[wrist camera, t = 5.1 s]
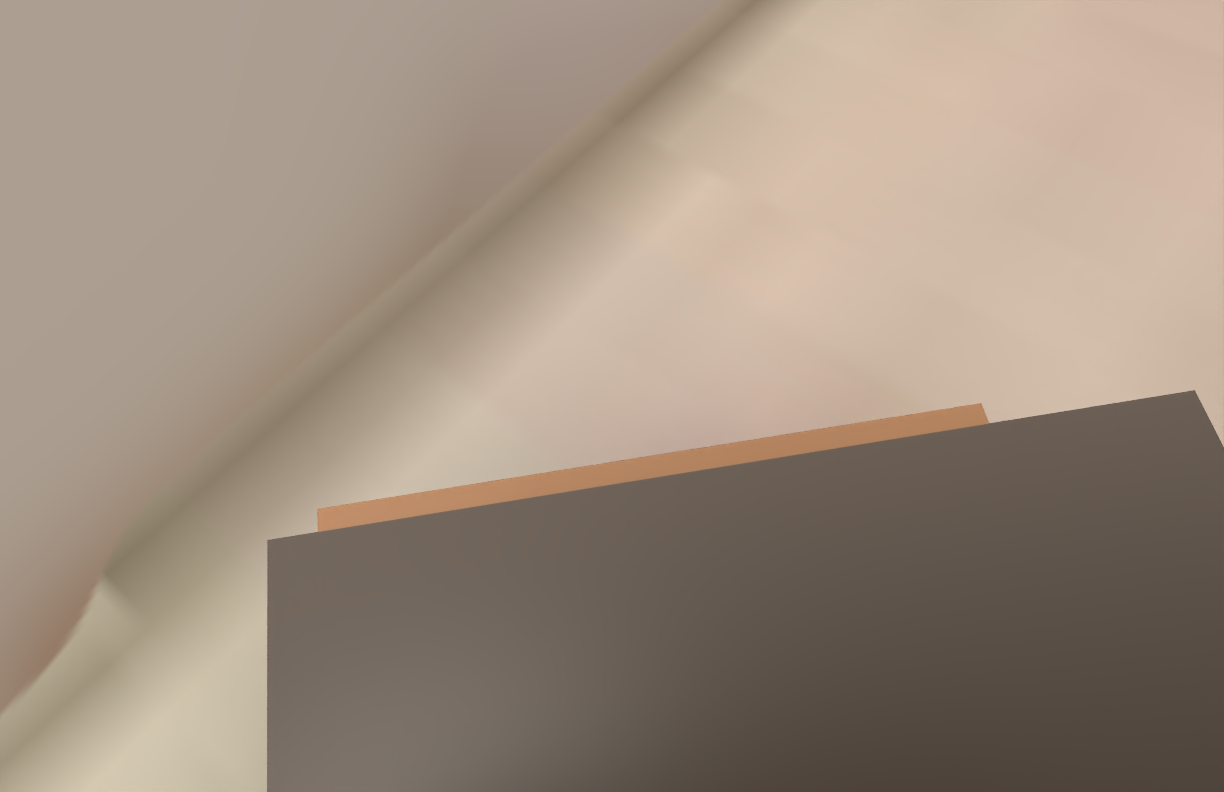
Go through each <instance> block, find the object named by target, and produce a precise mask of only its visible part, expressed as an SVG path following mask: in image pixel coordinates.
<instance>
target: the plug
mask: <svg viewBox="0 0 1224 792" xmlns="http://www.w3.org/2000/svg"><path fill="white" fill-rule="evenodd" d="M317 514H318V532H315V533H309V534H303V535H297V536H290V537H284V538H278V539H272V540H268V606H267V792H1224V447H1223V445H1222V443H1221V441H1220V439H1219V437H1218V435H1217V433H1216V431H1215V429H1214V427H1213V425H1212V423H1211V421H1210V420H1209V418H1208V416H1207V414H1206V412H1205V410H1204V408H1203V406H1202V404H1201V402H1200V400H1199V398H1198V396H1197V394H1196V392H1195V390H1194V391H1188V392H1182V393H1175V394H1169V395H1163V396H1157V397H1151V398H1144V399H1138V400H1132V401H1126V402H1120V403H1113V404H1107V405H1101V406H1095V407H1089V408H1083V409H1076V410H1070V411H1064V412H1058V413H1052V414H1045V415H1039V416H1033V417H1027V418H1021V419H1014V420H1008V421H1002V422H996V423H990V424H989V422H988V419H987V417H986V414H985V412H984V409H983V406H982V404H981V403H980V404H974V405H968V406H961V407H955V408H949V409H943V410H936V411H930V412H924V413H917V414H911V415H905V416H899V417H892V418H886V419H880V420H873V421H867V422H861V423H855V424H848V425H842V426H836V427H829V428H823V429H817V430H811V431H804V432H798V433H792V434H785V435H779V436H773V437H767V438H760V439H754V440H748V441H741V442H735V443H729V444H723V445H716V446H710V447H704V448H697V449H691V450H685V451H679V452H672V453H666V454H660V455H653V456H647V457H641V458H635V459H628V460H622V461H616V462H609V463H603V464H597V465H591V466H584V467H578V468H572V469H565V470H559V471H553V472H547V473H540V474H534V475H528V476H521V477H515V478H509V479H503V480H496V481H490V482H484V483H477V484H471V485H465V486H459V487H452V488H446V489H440V490H433V491H427V492H421V493H415V494H408V495H402V496H396V497H389V498H383V499H377V500H371V501H364V502H358V503H352V504H345V505H339V506H333V507H327V508H320V509H317Z"/></svg>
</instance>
